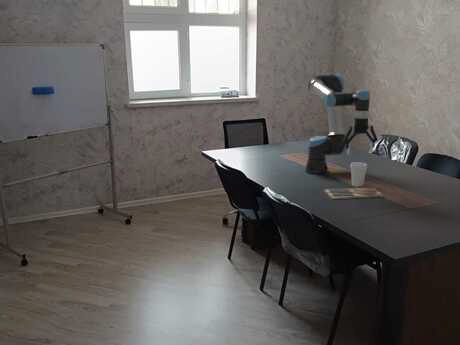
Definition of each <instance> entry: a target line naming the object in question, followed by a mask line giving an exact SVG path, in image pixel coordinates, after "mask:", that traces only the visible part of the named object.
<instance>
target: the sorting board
mask: <svg viewBox="0 0 460 345" xmlns="http://www.w3.org/2000/svg"><path fill="white" fill-rule="evenodd" d="M323 192H324V193H325V194H326V195H327V196H328V197H329V198H330V199H331V200H345V199H368V198H384V194H383V193H382V192H381V191H379V190H377V189H376V188H375V187H374V186H368V187H367V186H366V187H365V186H364V187H346V188H345V187H344V188H326V189H325V188H324V189H323Z"/></svg>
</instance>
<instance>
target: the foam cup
mask: <svg viewBox="0 0 460 345" xmlns="http://www.w3.org/2000/svg"><path fill="white" fill-rule="evenodd" d="M349 166H350V174H351V175H350V176H351V185H352V186H353V187H359V186H360V187H363V186H364V184H365V177H366V172H367V168H368V163H366V162H361V161H355V162H351V163H350V165H349Z"/></svg>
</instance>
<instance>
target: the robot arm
mask: <svg viewBox="0 0 460 345" xmlns="http://www.w3.org/2000/svg"><path fill="white" fill-rule="evenodd" d="M307 87H308V91H310V93H312V95H316V96H318V97H319V98H320V99H322V100H323V104H324V106H325V107H327V108H326V109H327V122H328V134H327V136H326V135H316V136H312V137H310V138H309V139H308V144H307V149H308V150H307V162H306V164H305V167H304V171H305V172H306V173H308V174H313V175H323V174H326V173H328V172H329V168H328V163H327V160H326V159H327V158H326V157H328V156H340V155H345V154H347V155H350V154H351V152H350V151H351V143H350V142H351V141H352V140H353V139H354V138H355V137H356V136H357V135H364V134H365V135H366V136H367V138H368V139H369V140H370V142H369V153H370V154H373V150H374V148H375V143H376V142H378V141H379V139H378V137H377V134H376V132H375V129H374V125H371V124H370V125H369V115H370V113H369V112H370V111H369V110H370V100H371V99H370V98H371V96H370V94H371V92H370V91H369V90H365V89H363V90H362V89H361V90H358V89H357V91H356V92H355V91H352V92H345V93H343V91H344V90H345V82H344V78H343V77H342V75H340V74H322V75H321V74H319V75H315V76H313V77H312V78H310V80H309V81H308V84H307ZM350 106H351V107H352V106H353V107H354V106H355V110H354V117H355V118H354V125H353V126H351V125H349V126H348V129H347V132H346V133H344V131H343V124H342V111H341V110H342V109H341V107H350ZM353 130H354V131H353ZM368 130H370V133H371V134H370V133H369V132H368ZM352 131H353V132H352Z"/></svg>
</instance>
